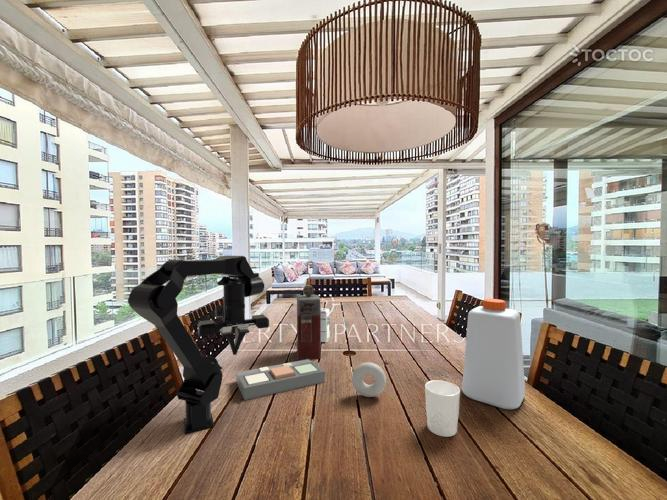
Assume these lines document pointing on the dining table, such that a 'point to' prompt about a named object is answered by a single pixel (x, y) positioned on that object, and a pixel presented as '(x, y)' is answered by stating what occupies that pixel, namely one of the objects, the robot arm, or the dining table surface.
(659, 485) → the dining table surface
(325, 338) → the syrup box
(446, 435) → the white cup
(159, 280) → the robot arm
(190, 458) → the dining table surface
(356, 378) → the donut
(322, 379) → the keypad
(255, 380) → the ivory key
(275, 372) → the terracotta key
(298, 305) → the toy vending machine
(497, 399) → the plastic bottle
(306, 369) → the sage key
